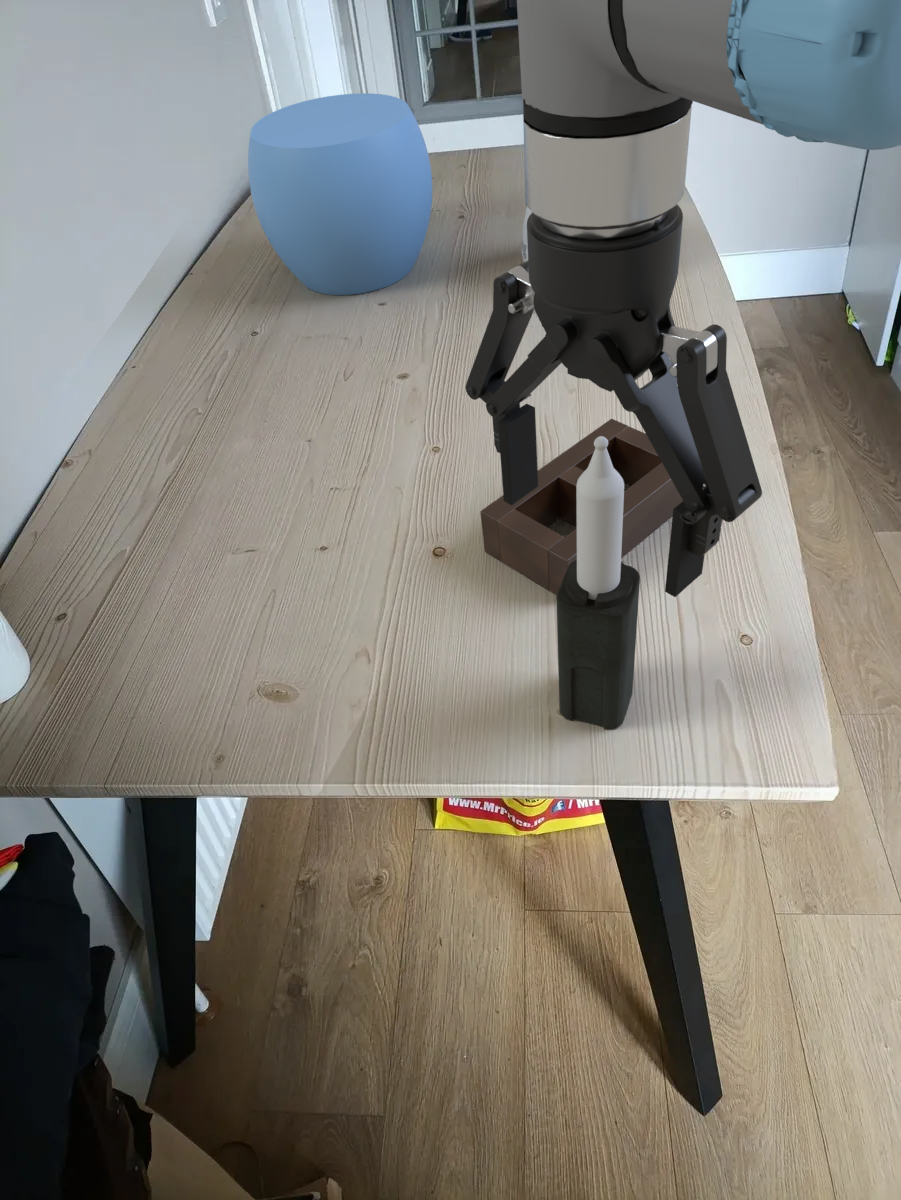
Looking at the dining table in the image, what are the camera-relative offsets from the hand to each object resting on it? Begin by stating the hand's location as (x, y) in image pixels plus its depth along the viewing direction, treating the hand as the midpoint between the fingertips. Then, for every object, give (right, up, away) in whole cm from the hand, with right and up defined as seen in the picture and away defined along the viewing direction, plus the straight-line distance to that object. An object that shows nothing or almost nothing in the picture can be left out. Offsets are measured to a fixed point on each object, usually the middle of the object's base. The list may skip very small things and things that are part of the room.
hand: (596, 535), depth 58 cm
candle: (+2, -12, +12) cm, 17 cm away
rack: (+4, +3, +27) cm, 27 cm away
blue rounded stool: (-23, +45, +73) cm, 89 cm away
